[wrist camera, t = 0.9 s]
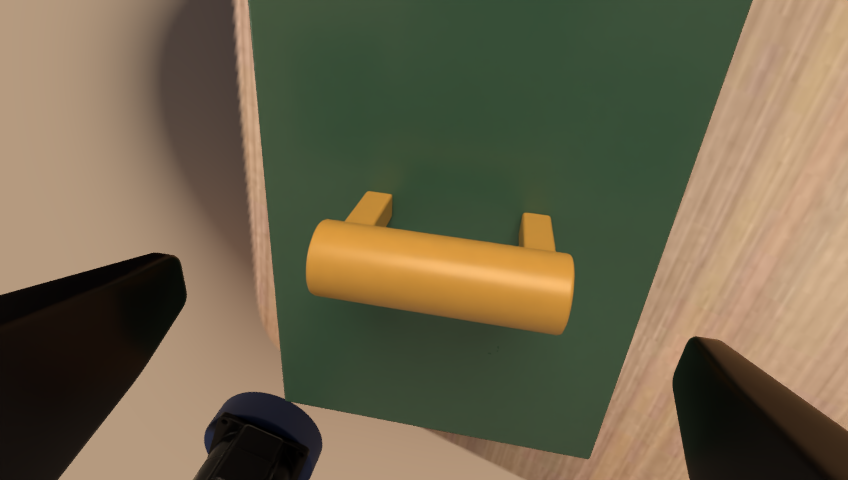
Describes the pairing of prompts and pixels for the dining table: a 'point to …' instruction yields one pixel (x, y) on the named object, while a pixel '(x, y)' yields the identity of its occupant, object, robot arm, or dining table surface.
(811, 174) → the dining table surface
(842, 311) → the dining table surface
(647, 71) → the tin lid
